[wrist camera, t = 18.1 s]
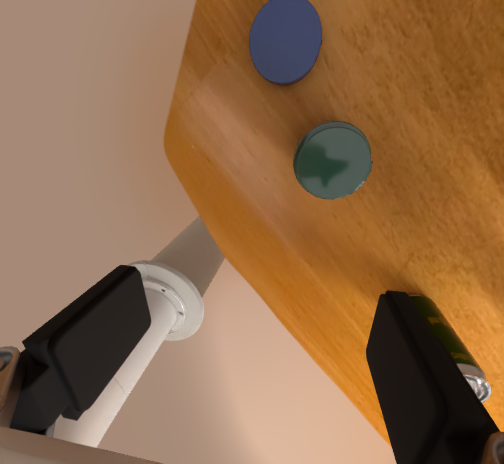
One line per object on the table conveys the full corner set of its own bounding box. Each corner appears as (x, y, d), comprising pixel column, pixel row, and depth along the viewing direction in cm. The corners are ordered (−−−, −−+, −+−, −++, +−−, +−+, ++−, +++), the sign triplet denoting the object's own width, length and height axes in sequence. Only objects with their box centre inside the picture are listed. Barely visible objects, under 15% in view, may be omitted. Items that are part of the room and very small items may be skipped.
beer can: (389, 321, 36) (425, 405, 26) (393, 291, 34) (434, 370, 23) (430, 322, 35) (486, 412, 24) (437, 292, 33) (501, 376, 22)
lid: (325, -1, 23) (327, -10, 21) (317, 84, 26) (317, 82, 24) (252, 4, 24) (249, -4, 22) (252, 85, 27) (249, 83, 25)
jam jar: (294, 175, 30) (289, 201, 21) (298, 120, 27) (296, 120, 18) (346, 177, 29) (367, 206, 20) (356, 120, 26) (385, 121, 17)
